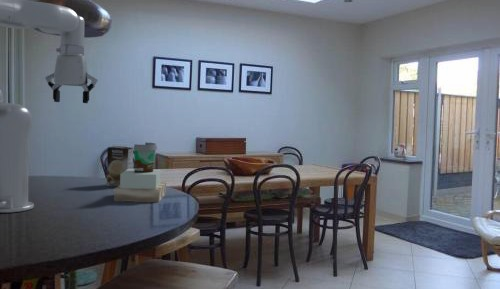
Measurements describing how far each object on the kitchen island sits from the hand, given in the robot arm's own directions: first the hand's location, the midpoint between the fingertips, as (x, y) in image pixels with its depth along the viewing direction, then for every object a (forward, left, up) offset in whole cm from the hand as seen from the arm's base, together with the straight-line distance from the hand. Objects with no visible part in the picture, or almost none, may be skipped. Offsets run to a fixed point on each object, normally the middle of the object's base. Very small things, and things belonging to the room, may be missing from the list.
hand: (71, 102), depth 151 cm
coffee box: (+30, -10, -33) cm, 46 cm away
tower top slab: (+5, -24, -29) cm, 37 cm away
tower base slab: (+5, -24, -34) cm, 41 cm away
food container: (+5, -26, -24) cm, 35 cm away
